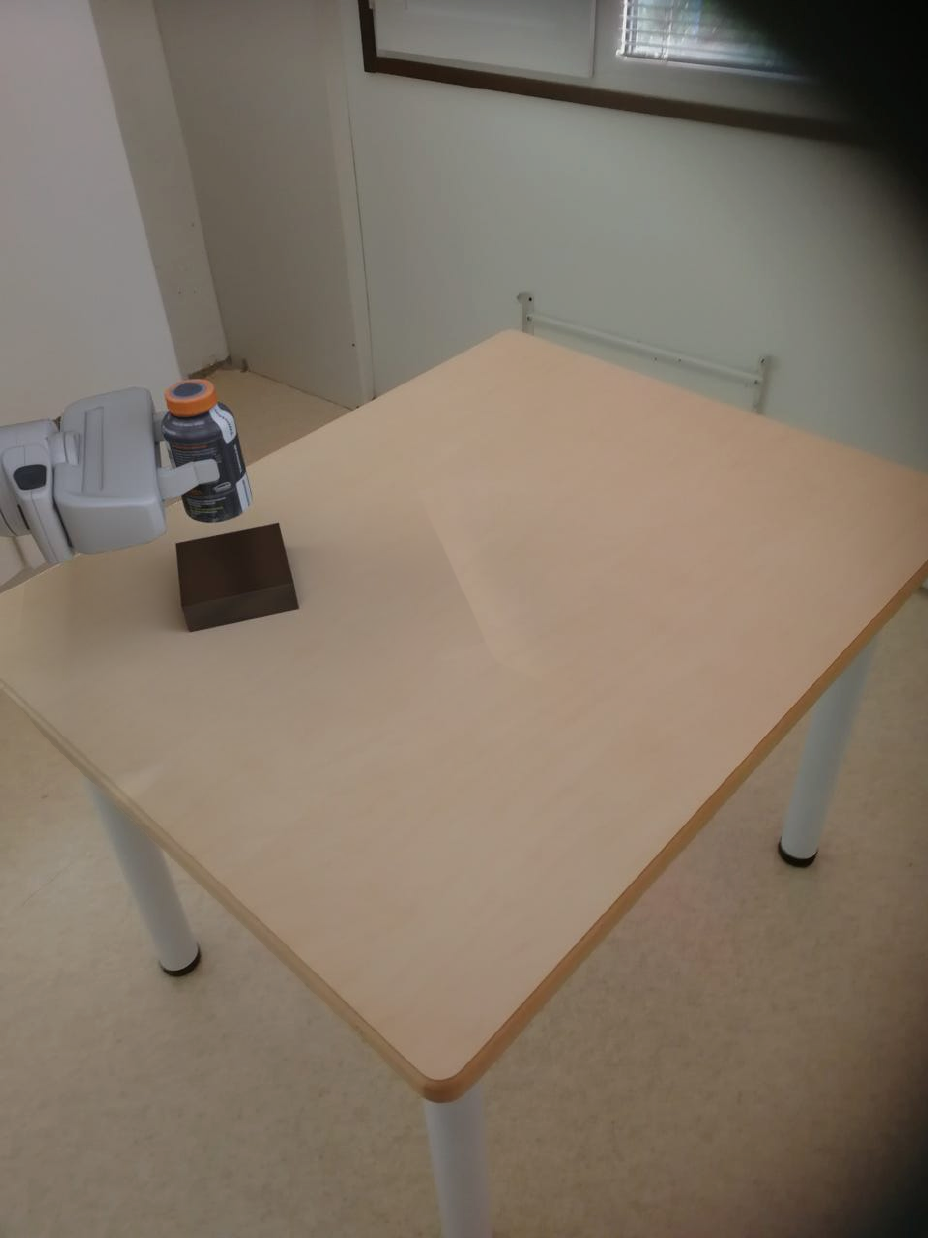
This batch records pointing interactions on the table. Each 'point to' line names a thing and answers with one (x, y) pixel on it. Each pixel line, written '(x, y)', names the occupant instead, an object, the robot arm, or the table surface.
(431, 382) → the table surface
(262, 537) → the walnut stand
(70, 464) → the robot arm
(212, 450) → the pill bottle
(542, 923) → the table surface
